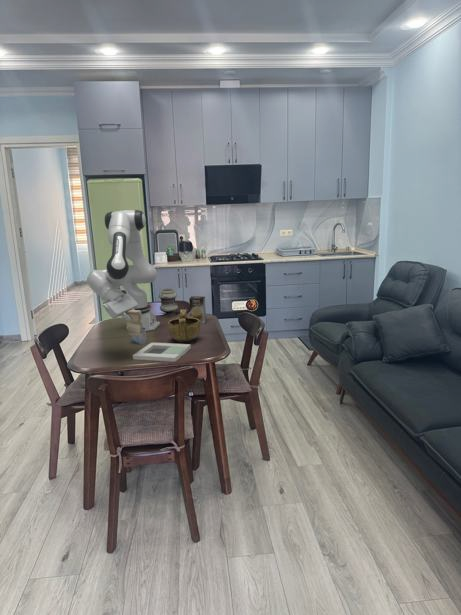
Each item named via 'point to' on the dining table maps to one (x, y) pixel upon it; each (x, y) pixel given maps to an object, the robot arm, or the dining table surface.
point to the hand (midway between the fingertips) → (133, 318)
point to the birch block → (134, 322)
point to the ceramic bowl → (184, 327)
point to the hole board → (162, 352)
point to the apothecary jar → (168, 302)
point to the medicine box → (139, 338)
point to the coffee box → (198, 308)
